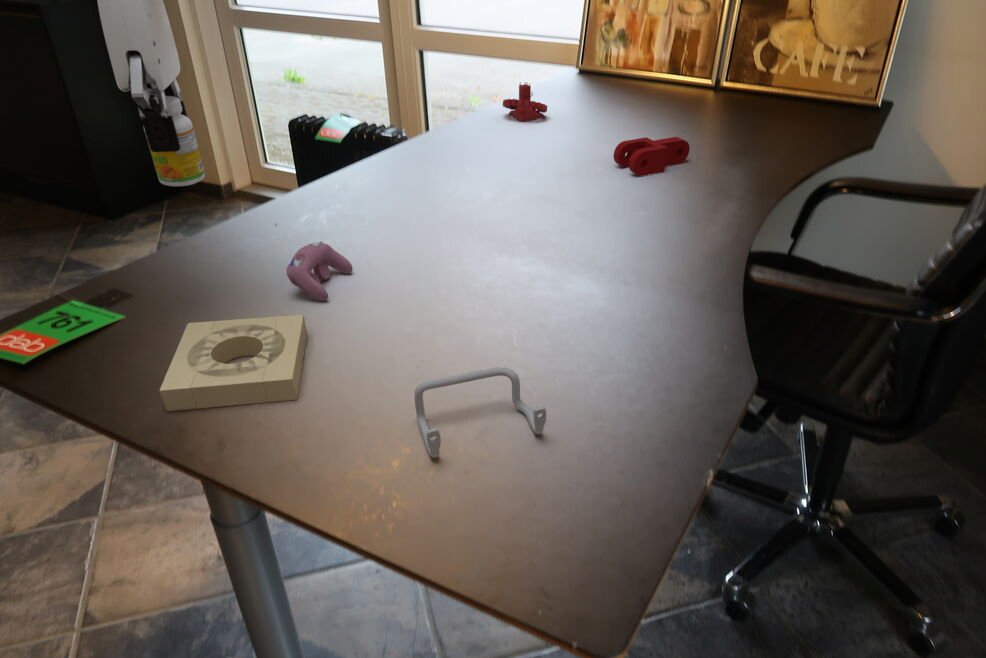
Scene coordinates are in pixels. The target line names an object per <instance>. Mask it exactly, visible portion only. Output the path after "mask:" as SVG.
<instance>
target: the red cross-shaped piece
mask: <svg viewBox="0 0 986 658" xmlns="http://www.w3.org/2000/svg"><path fill="white" fill-rule="evenodd" d="M531 88H532V86H531V85H530V84H528V83H524V84H521V82H519V85H518V99H517V98H507V99H503V101H502V107H503V108H505V109H509V110H510V111H509V112H508V115H510V116H512V118H513V119H515V120H517V121H519V122H521V123H523V122H524V123H525V122H530V121H537V120H539V119H545V118H546V117H547V116H546V115H544V114H543V113H545V114H546V113H547V112H548V105H547V104H545V103H542V102H537V101H534V100H531V99H532V96H533V95H534V93H533V92H532V89H531Z"/></svg>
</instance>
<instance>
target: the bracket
mask: <svg viewBox="0 0 986 658" xmlns="http://www.w3.org/2000/svg"><path fill="white" fill-rule="evenodd" d="M499 376H501V377H507V378H508V379H509V380H510V382H511V400H512V403H513V405H514V407H515V408H516V409H517V410H518V411H520V412H521V413H522V414H524V415H525V417H526V419H527V421H528V423H529V425H530V428H531V429H532V431H533V433H534V435H542V433H543V431H544V427H545V425H546V422H547V410H546V406H538V407H535V408H534V410H532V409H531V407H530V406H528V404H526V403H524V402H523V400H522V399H521V383H520V381H521V380H520V377H519V375H518V374H517V372H515V370H513V369H511V368H508V367H504V366H503V367H501V366H499V367H496V366H495V367H491V368H488V369H480V370H476V371H470V372H465V373H460V374H455V375H451V376H446V377H445V376H444V377H440V378H436V379H430V380H427V381H423V382H421V383H420V384H418V385H417V386H416V388H415V389H414V407H415V414H416V420H417V423H418V426H419V429H420V432H421V436H422V439H423V442H424V444H425V447H426V450H427V452H428V454H429V457H430V458H431V459H437V458H438V457H439V455H440V448H441V443H442V439H441V433H440V430H439V429H438V428H436V427H435V428H430V427H429V425H428V422H427V419H426V413H425V405H424V393H425V392H426V391H429V390H434V389H439V388H443V387H449V386H454V385H459V384H464V383H469V382H474V381H479V380H482V379H488V378H493V377H499ZM539 415H540V416H539ZM433 437H435V439H434V438H433Z"/></svg>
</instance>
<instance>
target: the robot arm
mask: <svg viewBox="0 0 986 658" xmlns="http://www.w3.org/2000/svg"><path fill="white" fill-rule="evenodd" d="M96 2H97V7H98V13H99V18H100V24H101V28H102V33H103V36H104V40H105V45H106V49H107V53H108V55H109V60H110V64H111V67H112V72H113V75H114V78H115V82H116V85H117V87H118V89H119V90H120V91H122V92H124V93H128V92H130V93H131V98H132V99H133V101H134V102H135V105H136V107H137V108H138V113H139V117H140V120H141V122H142V126H144V128H143V130H144V129H145V131H144V133H145V132H146V135H145V137H146V136H147V138H146V140H147V139H148V141H147V144H148V143H149V145H148V147H149V146H150V148H149V150H150V149H151V151H153V152H173V151H179V150H180V143H179V140H178V136H177V132H176V129H175V125H174V121H173V117H172V116H168V110H167V104H166V99H165V96H174V97H177V98H179V99H180V103H181V106H182V112H181V115H184V116H186V117H188V114H187V110H186V106H185V103H184V100H183V95H182V91H181V88H180V86H179V83H178V82H179V81H178V80H177V79H178V76H179V74H180V72H181V63H180V57H179V54H178V49H177V45H176V41H175V37H174V34H173V30H172V26H171V23H170V20H169V15H168V13H167V9H166V4H165V3H164V0H97V1H96ZM147 84H150V86H151V88H148V86H147ZM152 96H153V97H152ZM154 97H157V98H158V103H159V104H158V103H157V101H156V100H155V99H154Z"/></svg>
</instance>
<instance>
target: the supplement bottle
mask: <svg viewBox="0 0 986 658" xmlns="http://www.w3.org/2000/svg"><path fill="white" fill-rule="evenodd" d="M153 97H154V99H155V100H156V101H157V103H158V98H157V97H155V96H153ZM165 99H166V104H167V110H168V116H172V117H173V121H174V125H175V129H176V132H177V136H178V140H179V143H180V150H179V151H173V152H153V151H151V149H150V146H149V143H148V139H147V136H146V132H145V129H144V126H143V125H142V126H143V127H142V128H143V131H144V134H145V137H146V141H147V145H148V148H149V151H150V155H151V158H152V162H153V166H154V169H155V173H156V175H157V179H158V181H159V183H160V184H162V185H163V186H168V187H185V186H186V187H188V186H191V185H194V184H197V183H199V182H201V181H202V180H204V178H205V177H206V173H205V167H204V163H203V161H202V157H201V153H200V149H199V145H198V140H197V137H196V132H195V129H194V125H193V122H192V120H191V119H190V118H189V117H188V116H187V117H186V116H184V115H181V112H182V106H181V103H180V101H181V100H180V99H179V98H177V97H174V96H165ZM158 104H159V103H158Z"/></svg>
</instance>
